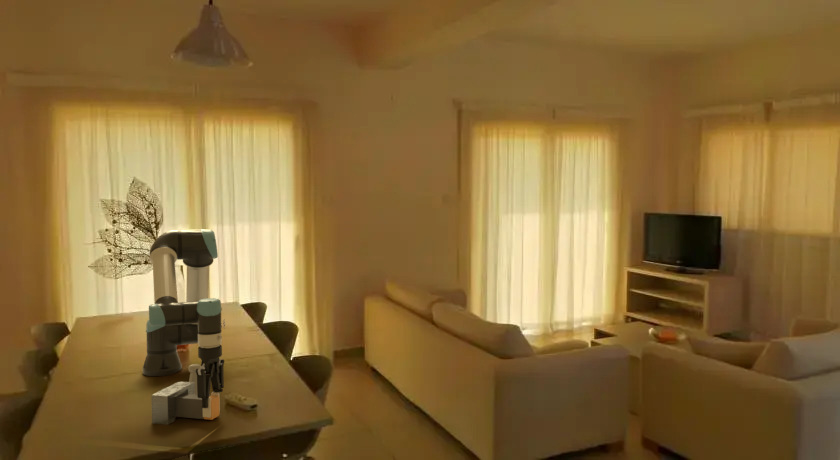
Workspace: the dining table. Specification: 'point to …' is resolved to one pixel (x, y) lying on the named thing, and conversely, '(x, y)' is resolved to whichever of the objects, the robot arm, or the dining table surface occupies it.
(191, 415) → the plug
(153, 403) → the block
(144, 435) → the dining table surface
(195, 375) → the salt shaker
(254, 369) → the dining table surface
